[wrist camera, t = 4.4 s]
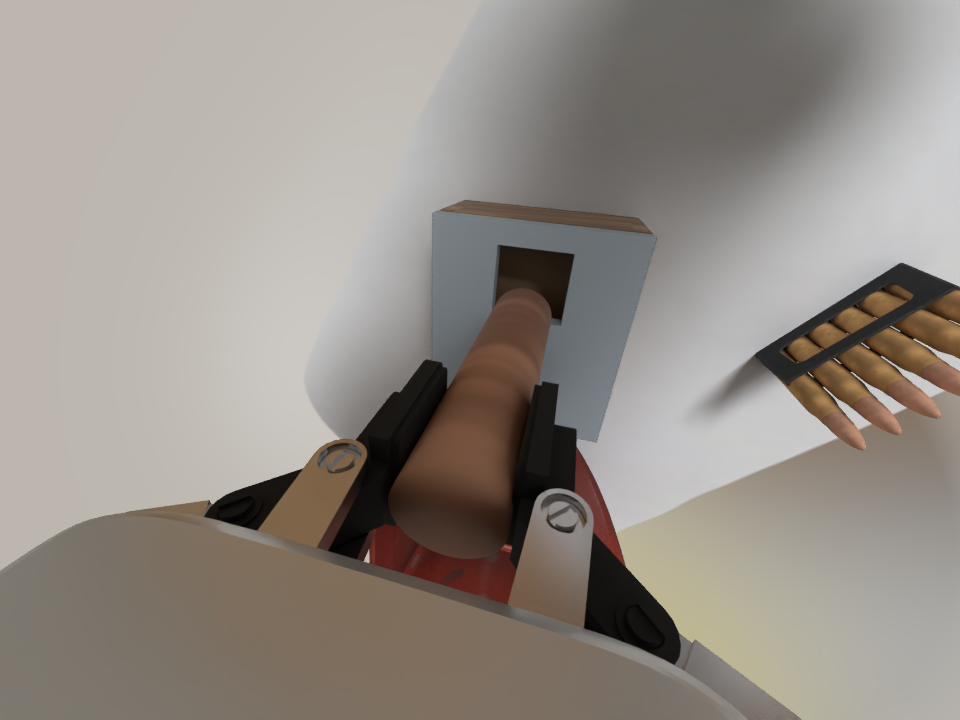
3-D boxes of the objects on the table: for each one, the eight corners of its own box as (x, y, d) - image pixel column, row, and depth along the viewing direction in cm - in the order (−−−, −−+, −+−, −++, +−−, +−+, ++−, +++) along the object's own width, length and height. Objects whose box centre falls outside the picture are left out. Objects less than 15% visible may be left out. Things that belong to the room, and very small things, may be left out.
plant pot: (428, 496, 51) (368, 631, 36) (441, 381, 41) (366, 504, 27) (567, 539, 48) (562, 702, 34) (616, 427, 39) (638, 589, 24)
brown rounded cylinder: (496, 284, 19) (384, 458, 8) (556, 293, 18) (516, 490, 8) (491, 336, 20) (391, 540, 10) (546, 346, 20) (502, 571, 9)
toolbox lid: (438, 210, 25) (400, 225, 20) (653, 234, 23) (675, 258, 18) (435, 401, 33) (408, 447, 28) (596, 433, 31) (599, 490, 26)
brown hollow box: (465, 200, 31) (439, 210, 26) (638, 218, 29) (652, 233, 23) (458, 363, 39) (437, 399, 34) (593, 388, 37) (595, 430, 31)
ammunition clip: (767, 367, 32) (854, 467, 22) (753, 354, 32) (835, 448, 22) (916, 279, 27) (1123, 356, 17) (901, 262, 27) (1102, 329, 16)
